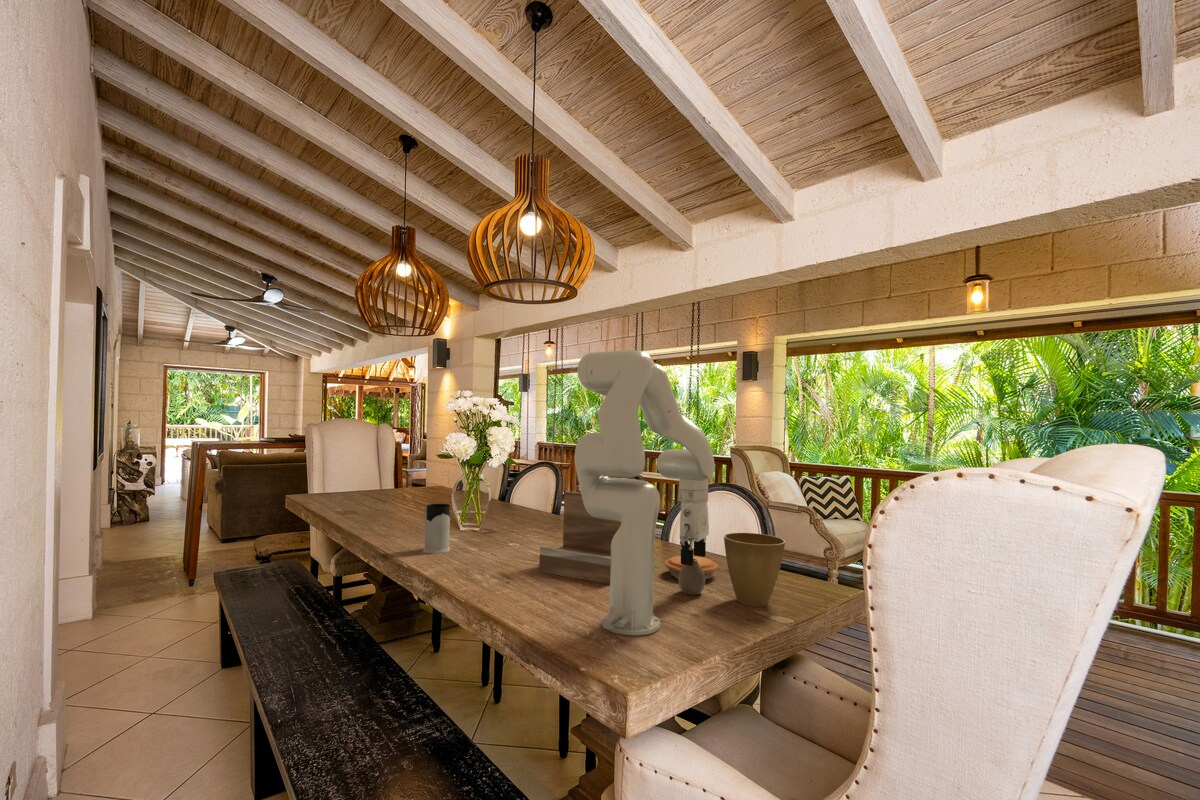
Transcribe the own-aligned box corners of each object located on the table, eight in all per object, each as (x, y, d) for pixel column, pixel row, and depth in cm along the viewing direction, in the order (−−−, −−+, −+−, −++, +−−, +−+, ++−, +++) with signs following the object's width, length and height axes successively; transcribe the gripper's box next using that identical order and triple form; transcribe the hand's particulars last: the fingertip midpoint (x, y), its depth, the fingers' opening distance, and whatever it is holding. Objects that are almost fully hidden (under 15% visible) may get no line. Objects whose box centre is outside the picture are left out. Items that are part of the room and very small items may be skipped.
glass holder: (429, 554, 181) (431, 508, 182) (412, 546, 192) (413, 502, 192) (454, 551, 187) (456, 506, 188) (436, 543, 198) (437, 500, 198)
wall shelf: (611, 584, 152) (613, 503, 153) (539, 571, 164) (541, 496, 165) (634, 573, 165) (636, 497, 166) (565, 561, 177) (567, 491, 178)
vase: (710, 595, 145) (710, 561, 145) (686, 598, 142) (687, 563, 143) (695, 588, 151) (696, 555, 152) (673, 590, 149) (674, 557, 149)
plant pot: (756, 616, 130) (757, 546, 131) (710, 598, 143) (711, 535, 143) (797, 605, 138) (797, 540, 139) (750, 589, 151) (751, 530, 151)
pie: (673, 566, 174) (674, 550, 174) (723, 573, 167) (723, 556, 167) (656, 578, 160) (657, 561, 160) (710, 586, 153) (710, 568, 153)
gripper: (696, 501, 139) (695, 570, 138) (717, 492, 154) (717, 554, 153) (667, 498, 142) (667, 566, 142) (691, 490, 157) (691, 551, 157)
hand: (693, 560), depth 148 cm, fingers open, 9 cm apart
